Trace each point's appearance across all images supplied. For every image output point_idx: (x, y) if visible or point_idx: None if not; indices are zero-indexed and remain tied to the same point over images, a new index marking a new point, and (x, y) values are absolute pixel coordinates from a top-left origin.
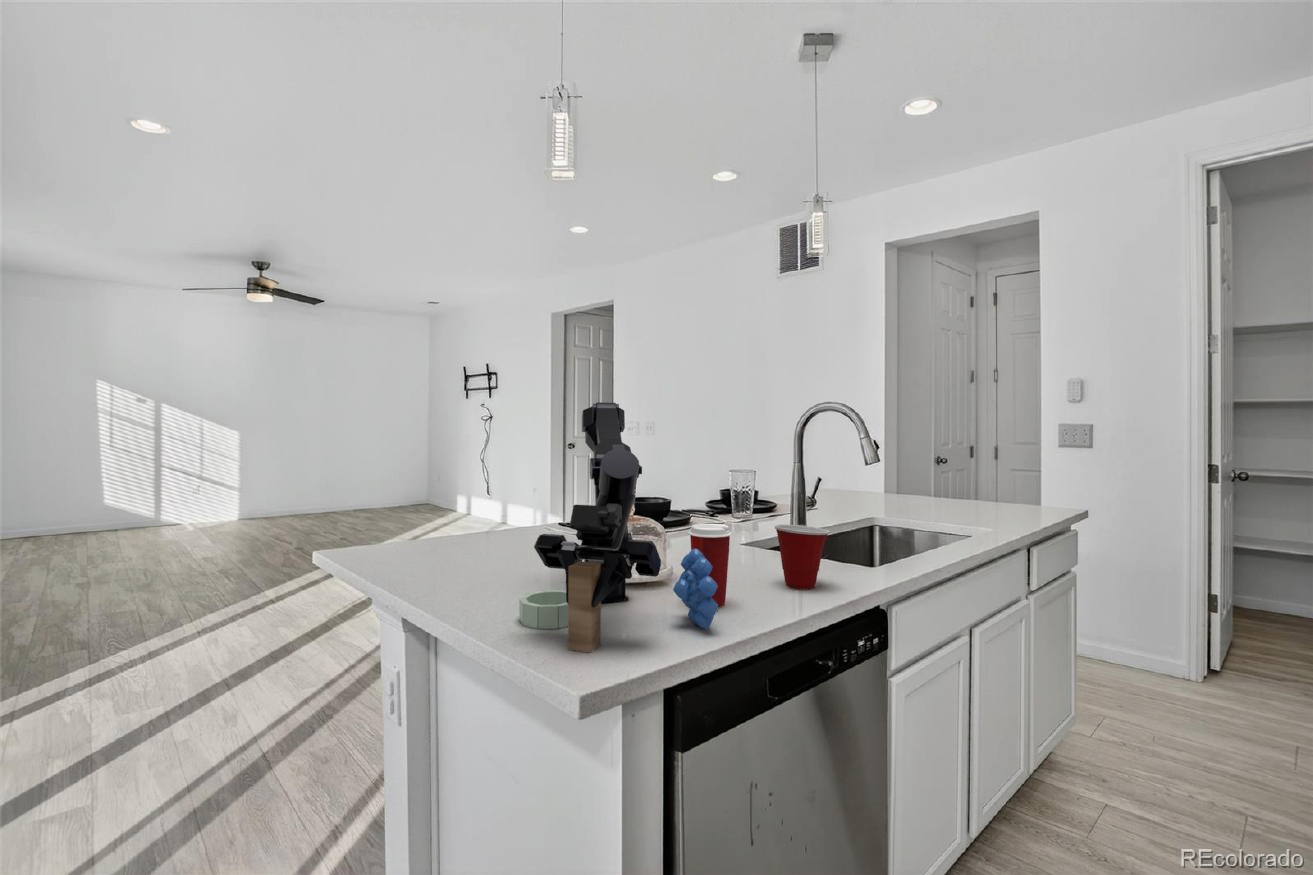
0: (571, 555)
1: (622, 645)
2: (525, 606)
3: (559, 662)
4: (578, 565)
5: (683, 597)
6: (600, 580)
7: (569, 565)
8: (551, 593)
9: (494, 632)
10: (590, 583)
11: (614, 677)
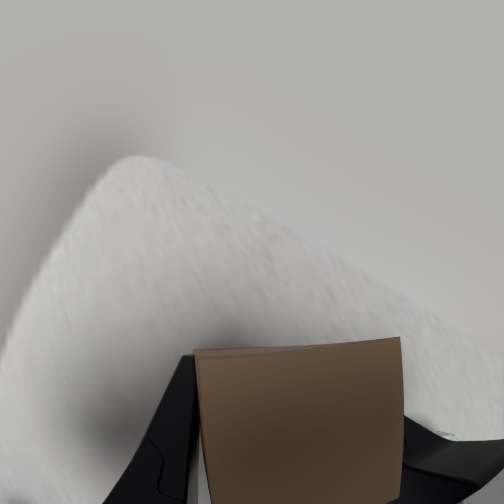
0: (464, 471)
1: (143, 427)
2: (445, 434)
3: (235, 267)
4: (353, 402)
5: None
6: (174, 439)
7: (426, 450)
8: None
9: (440, 365)
10: (200, 355)
11: (88, 228)
